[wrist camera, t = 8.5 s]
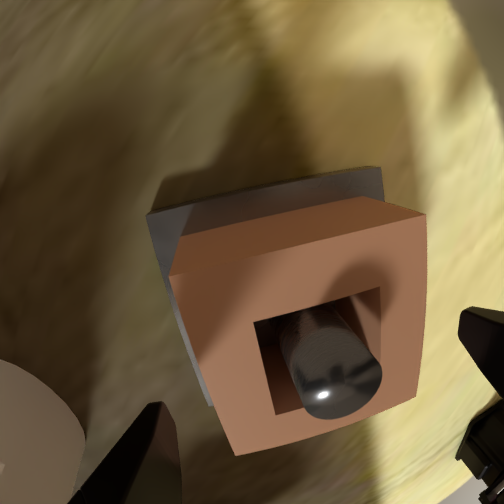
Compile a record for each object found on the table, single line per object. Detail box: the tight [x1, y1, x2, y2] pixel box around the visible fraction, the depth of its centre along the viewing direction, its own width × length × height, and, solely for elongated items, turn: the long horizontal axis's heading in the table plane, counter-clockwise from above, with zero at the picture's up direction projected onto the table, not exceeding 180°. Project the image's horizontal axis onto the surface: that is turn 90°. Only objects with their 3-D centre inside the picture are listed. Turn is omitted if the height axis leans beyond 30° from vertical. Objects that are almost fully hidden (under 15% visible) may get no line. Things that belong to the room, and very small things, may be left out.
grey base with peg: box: [146, 166, 385, 420], centre depth 10 cm, size 9×9×6 cm
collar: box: [169, 196, 427, 456], centre depth 11 cm, size 7×7×4 cm
